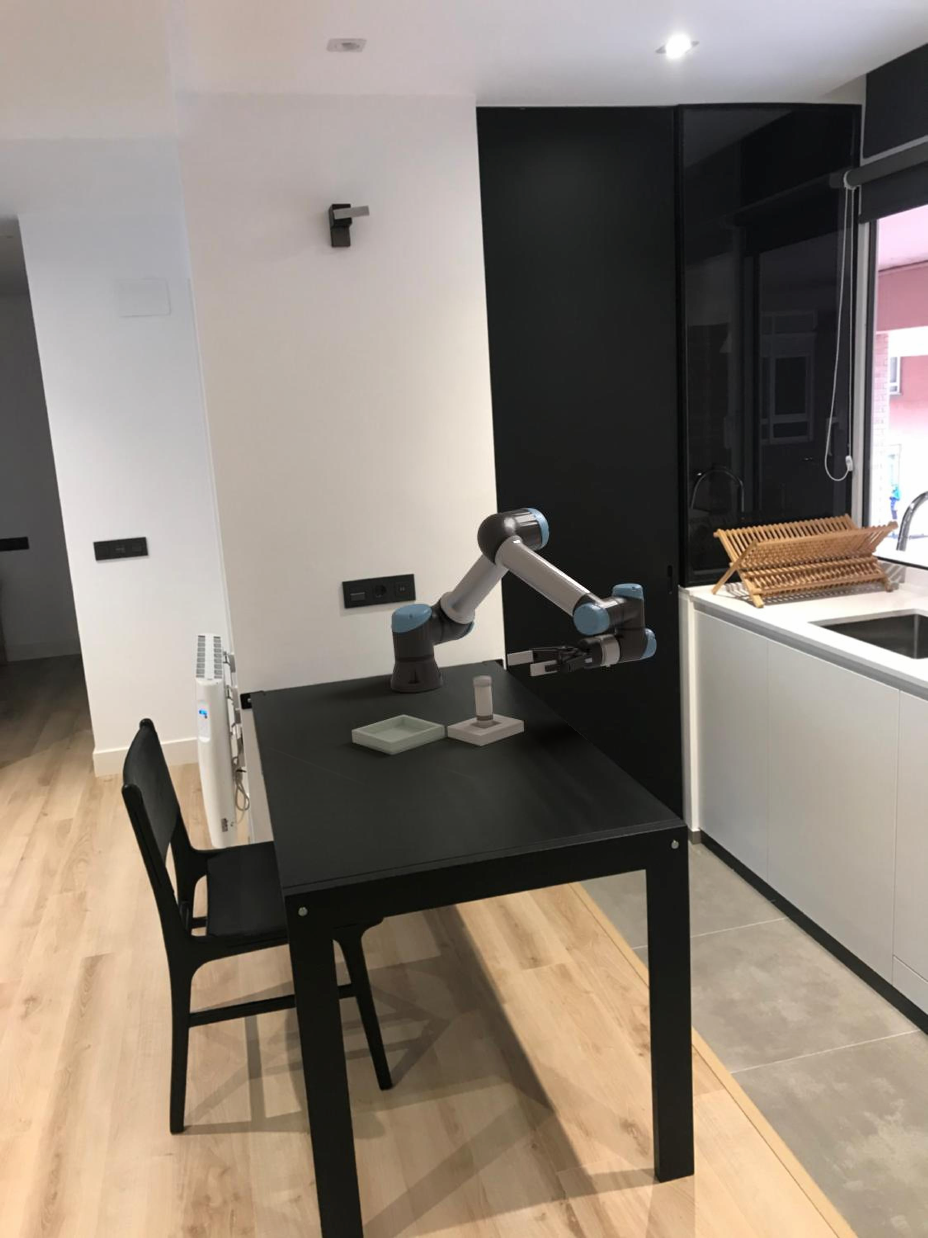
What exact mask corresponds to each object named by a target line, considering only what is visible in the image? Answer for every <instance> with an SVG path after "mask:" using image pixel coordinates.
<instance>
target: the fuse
mask: <svg viewBox="0 0 928 1238" xmlns="http://www.w3.org/2000/svg"><path fill="white" fill-rule="evenodd" d="M472 682H473V683H472V684H473V688H474V699H475V700H474V701H475V716H476V717H475V718H476V719H477V727H479V728H483V729H486V728H489V727H492V726H494V722H493V714H494V710H493V709H494V708H493V696H492V695H493V694H492V676H491V675H478V676H475V677H474V676H473V678H472Z"/></svg>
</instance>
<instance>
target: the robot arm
mask: <svg viewBox="0 0 928 1238" xmlns="http://www.w3.org/2000/svg"><path fill="white" fill-rule="evenodd" d="M548 524H549V523H548V521H547V519H546V518H545V516H544V515H543V514H542V512H540V511H539V510H537V509H536V508H532V507H531V508H526V507H523V508H520V509H516V510H515V509H514V510H510V511H504V512H498V513H497V512H496V513H493V514H490V515H489V516H486V518H485V519H483V521H482V522H481V523H480V525H479V527H478V530H477V534H476V540H477V545H478V548H479V550H480V551H481V555H480V556H479V558H477V560H476V561H475V562H474V564H473V565H472V566H471V567H470V569H469V570H468V571H467V573H466V574H465V575H464V576H463V578H462V579H461V580H460V581H459V583H458V584H457V585H456V586H455V587H454V589H453V590H451V591H446V592H444V593H443V594H442V596H441V597H440V598H439V599H438V600H437V601H436V602H435V604H433V605H429V604H427V603H413V604H408V605H407V604H406V605H404V606H401V607H399V608H397V609H395V610H394V611H393V613H392V614H391V624H390V628H391V634H392V635H391V636H392V643H393V644H392V645H393V646H392V647H393V653H394V657H393V658H394V664H393V668H392V675H391V678H390V688H391V690H393V691H394V692H398V693H423V692H429V691H432V690H435V689H438V688H440V687H442V686H443V683H444V681H443V676H442V674H441V671H440V668H439V666H438V664H437V660H436V659H435V658H436V657H435V646H437V645H442V644H445V643H449V642H453V641H458V640H460V639H463V638H465V637H466V636H468V635H469V634H470V633H471V632H472V630H473V628H474V626H475V621H474V620H476V609H477V608H478V607H480V604H481V603H482V602H483V601H484V600H485V599H486V598H487V596H488V595H489V594H490V593H491V591H492V590H494V588H495V587H496V586H497V584H498V583H499V582H500V581H501V580H502V578H503V577H504V576H505V575H506V574H507V572H508V571H509V572H511V573H513V574H514V575H515V576H516V577H518V578H519V579H520V580H521V581H523V582H525V583H526V584H527V585H529V586H530V587H531V588H533V589H534V590H535V591H537V592H538V593H540V594H541V595H542V596H544V597H545V598H547V600H549V601H551V602H552V603H553V604H555V605H556V606H557V607H559V608H560V609H562V611H564V612H566V613H567V614H568V615H569V616H571V617H572V618H573V623H574V626H575V627H576V629H577V631H579V633H581V634H582V635H586V636H592V635H596V634H601V633H603V632H607V631H609V630H612V629H614V632H615V633H609V634H603V635H598V636H594V637H586V638H581V639H580V640H579V641H578V643H577V645H576V647H574V646H568V645H567V644H566V645H559V646H549V647H548V646H547V647H545V646H543V647H530V648H529V650H526V651H520V652H514V653H509V654H507V665H508V666H515V665H521V664H522V665H523V664H527V663H532V664H530V666H529V667H530V676H532V677H536V676H541V675H546V674H553V673H564V674H569V673H571V672H574V671H577V670H579V669H581V668H584V669H593V668H594V669H595V668H599V667H603V666H606V668H609V667H611V665H615V664H620V663H626V662H627V663H628V662H632V661H633V662H635V661H641V660H643V659H648V658H651V657H652V656H654V654H655V652H656V650H657V640H656V639H655V637H656V636H655V633H654V632H653V631H652V630H651V629H649V628H646V625H645V624H646V623H645V621H646V620H645V599H644V592H643V587H642V585H640V584H637V583H621V584H617V585H615V586H614V587H613V588H612V593H611V596H609V597H607V598H603V599H602V598H600V597H598V596H597V595H595V594H594V593H593V592H591V591H589V590H588V589H587V588H585V587H584V586H583V585H581V584H580V583H578V581H576V580H574V579H572V578H571V577H570V576H568V575H567V574H566V573H564V572H563V571H561V570H560V569H558V568H557V567H556V566H555V565H553V564H551V563H550V562H549V561H547V560H546V559H544V558H543V557H542V556H540V555H539V554H537V553H536V552H535V551H539V550H540V549H542V548H543V547H545V546H546V545H547V543H548V540H549V536H550V531H549V525H548ZM535 661H543V662H538V663H534V662H535Z"/></svg>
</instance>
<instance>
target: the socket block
mask: <svg viewBox="0 0 928 1238" xmlns="http://www.w3.org/2000/svg"><path fill="white" fill-rule="evenodd" d="M493 722H494V726H492V727H489V728H486V729H483V728H479V727H477V719H476V717H474V718H469V719H466V720H464V721H460V722H457V723H455V724H451V725H448V726H447V727H446V728H447V737H448V738H452V739H455V740H459V741H462V742H466V743H469V744H472V745H475V746H476V745H477V746H479V747H482V746H485V745H488V744H491V743H494V742H496V741H499V740H503V739H505V738H508V737H510V736H514V735H517V734H520V733H522V732H524V731H525V726H524V721H523V720H520V719H516V718H512V717H509V716H505V715H501V714H496V713H493Z"/></svg>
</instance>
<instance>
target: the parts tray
mask: <svg viewBox="0 0 928 1238" xmlns="http://www.w3.org/2000/svg"><path fill="white" fill-rule="evenodd" d="M445 733H446V732H445V725H443V724H439V723H436V722H432V721H428V720H425V719H421V718H418V717H414V716H410V715H407V714H401V715H397V716H394V717H391V718H388V719H385V720H380V721H378V722H375V723H370V724H368V725H364V726H361V727H358V728H354V729H351V739H352V743H354V744H358V745H360V746H364V747H366V748H369V749H372V750H375V751H378V752H382V753H385V754H387V755H391V756H394V755H397V754H399V753H402V752H405V751H409V750H412V749H416V748H418V747H420V746H423V745H427V744H430V743H433V742H436V741H439V740H442V739H445V738H446V734H445Z"/></svg>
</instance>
